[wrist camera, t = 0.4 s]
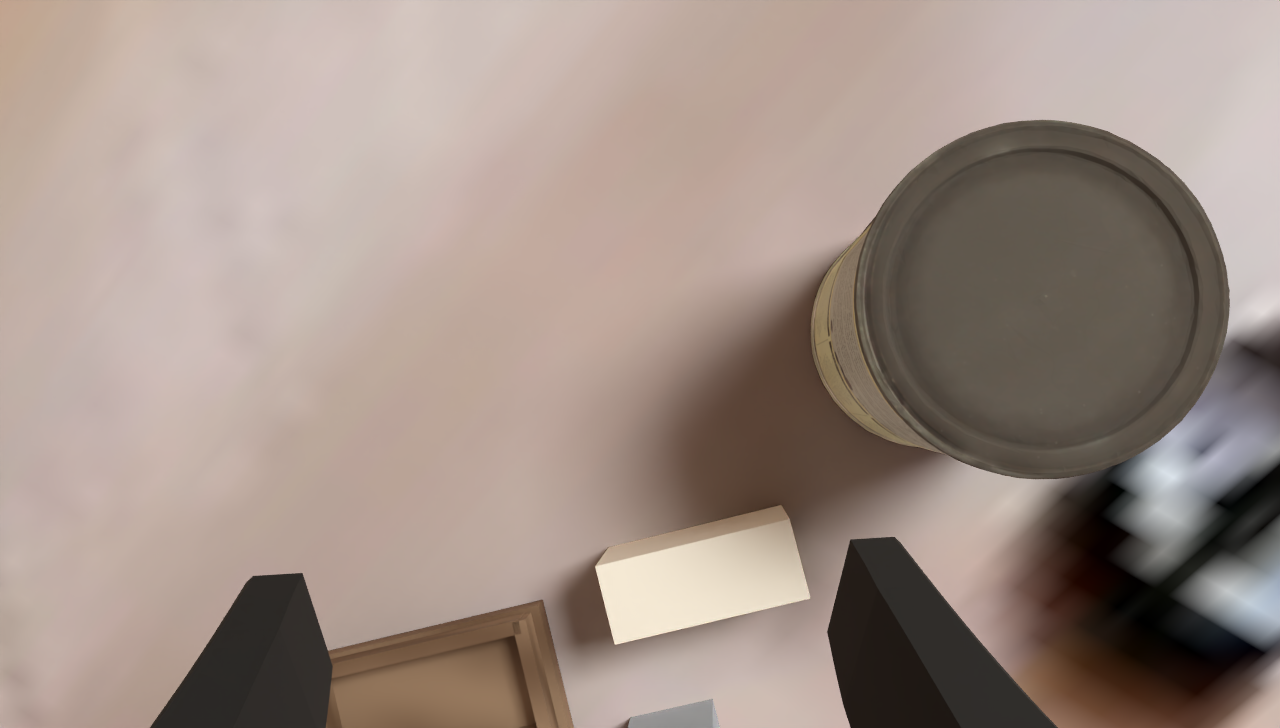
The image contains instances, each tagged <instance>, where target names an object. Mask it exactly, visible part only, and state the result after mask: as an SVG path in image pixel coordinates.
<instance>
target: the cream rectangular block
mask: <svg viewBox="0 0 1280 728" xmlns="http://www.w3.org/2000/svg"><path fill="white" fill-rule="evenodd" d="M595 568H596V572H597V576H598V580H599V584H600V588H601V592H602V596H603V600H604V604H605V608H606V612H607V616H608V620H609V624H610V628H611V632H612V636H613V640H614V644H615V645H616V644H621V643H625V642H629V641H633V640H638V639H642V638H646V637H650V636H654V635H659V634H663V633H667V632H671V631H675V630H680V629H684V628H688V627H692V626H697V625H701V624H705V623H709V622H713V621H718V620H722V619H726V618H730V617H734V616H739V615H743V614H747V613H751V612H756V611H760V610H764V609H768V608H772V607H777V606H781V605H785V604H789V603H794V602H798V601H802V600H806V599H810V594H809V590H808V587H807V583H806V579H805V575H804V571H803V568H802V564H801V560H800V556H799V552H798V549H797V545H796V541H795V537H794V533H793V530H792V526H791V522H790V519H789V517H788V515H787V514H786V512H785V510H784V509H783V507H782V505H779V506H775V507H771V508H767V509H763V510H759V511H754V512H750V513H746V514H742V515H738V516H734V517H730V518H726V519H722V520H718V521H714V522H710V523H706V524H702V525H697V526H693V527H689V528H685V529H681V530H677V531H673V532H669V533H665V534H661V535H657V536H653V537H649V538H645V539H640V540H636V541H632V542H628V543H624V544H620V545H616V546H612V547H608V549H607V550H606V552H605V553H604V554H603V556H602V557H601V559H600V560H599V562H598V563H597V565H596V566H595Z"/></svg>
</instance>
